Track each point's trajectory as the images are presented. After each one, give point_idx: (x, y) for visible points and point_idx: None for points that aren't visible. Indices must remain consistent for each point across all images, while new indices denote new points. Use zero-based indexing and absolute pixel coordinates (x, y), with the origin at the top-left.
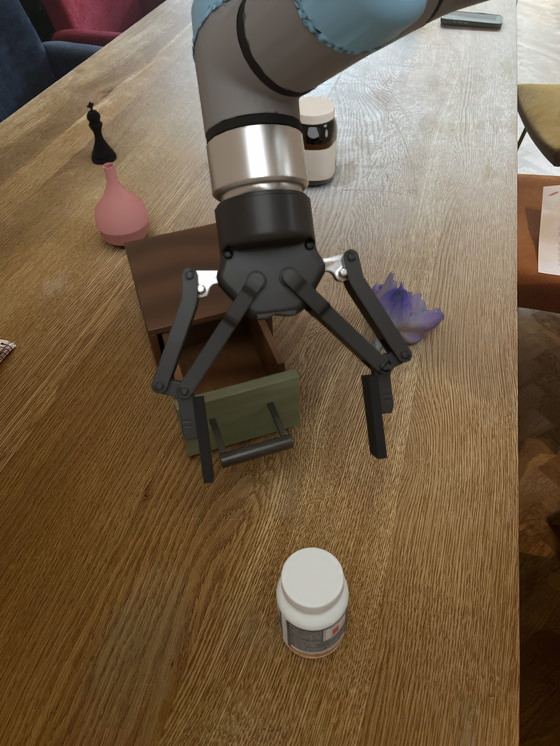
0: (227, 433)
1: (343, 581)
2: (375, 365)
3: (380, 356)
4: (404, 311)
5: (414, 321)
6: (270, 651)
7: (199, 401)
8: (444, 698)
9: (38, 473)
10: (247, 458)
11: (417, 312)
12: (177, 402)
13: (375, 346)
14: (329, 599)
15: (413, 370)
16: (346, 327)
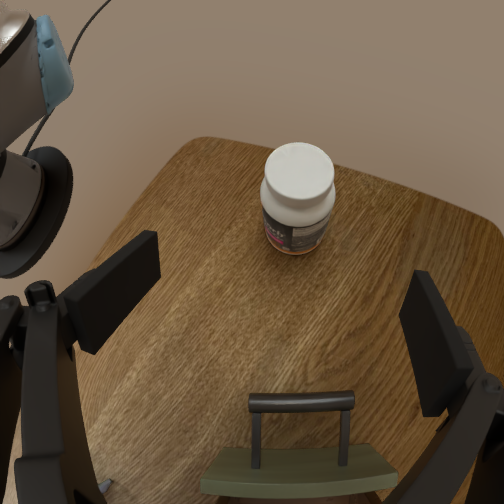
0: (320, 455)
1: (269, 156)
2: (52, 312)
3: (33, 319)
4: None
5: None
6: (336, 219)
7: (461, 363)
8: (218, 158)
9: None
10: (318, 392)
11: None
12: (393, 483)
13: (102, 489)
14: (289, 145)
15: None
16: (33, 395)
